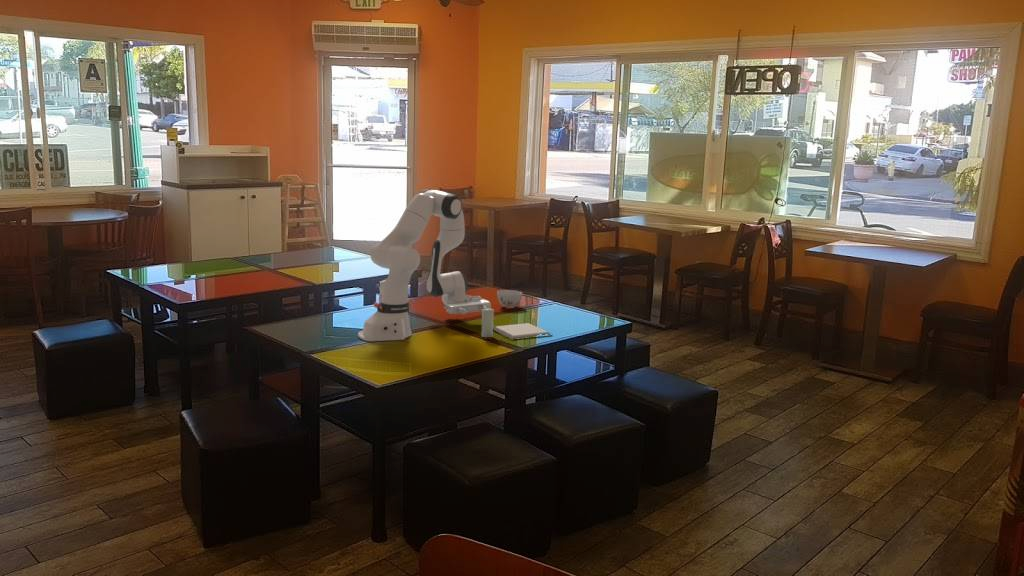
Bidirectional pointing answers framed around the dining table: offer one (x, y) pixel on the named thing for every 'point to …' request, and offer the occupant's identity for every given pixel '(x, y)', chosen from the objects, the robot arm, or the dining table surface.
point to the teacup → (509, 297)
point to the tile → (519, 330)
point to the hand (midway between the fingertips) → (475, 310)
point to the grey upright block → (487, 322)
